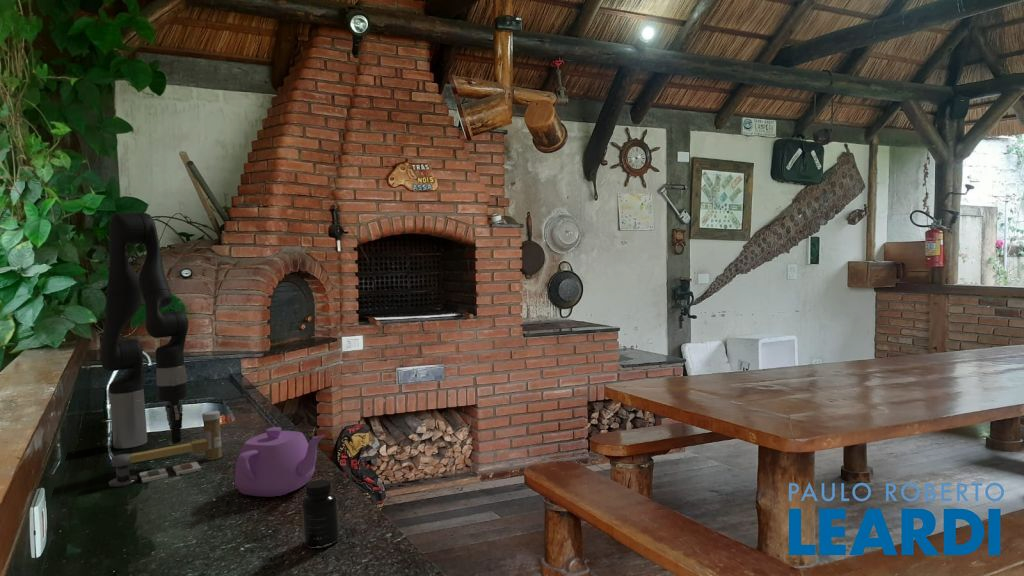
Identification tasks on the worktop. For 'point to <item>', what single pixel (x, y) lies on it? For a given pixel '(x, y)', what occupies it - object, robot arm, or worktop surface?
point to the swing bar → (159, 453)
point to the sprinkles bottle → (212, 434)
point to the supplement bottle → (320, 514)
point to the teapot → (275, 463)
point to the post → (122, 477)
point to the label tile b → (186, 468)
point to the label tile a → (153, 475)
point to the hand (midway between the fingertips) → (176, 442)
